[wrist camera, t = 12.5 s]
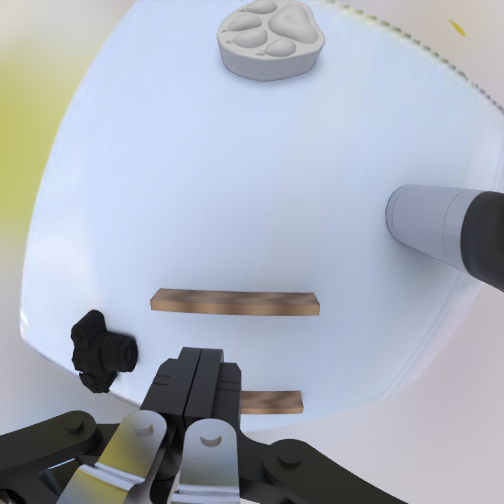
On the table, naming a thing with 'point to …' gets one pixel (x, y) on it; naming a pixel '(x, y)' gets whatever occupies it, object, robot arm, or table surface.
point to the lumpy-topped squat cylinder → (270, 40)
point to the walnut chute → (245, 306)
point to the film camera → (100, 352)
